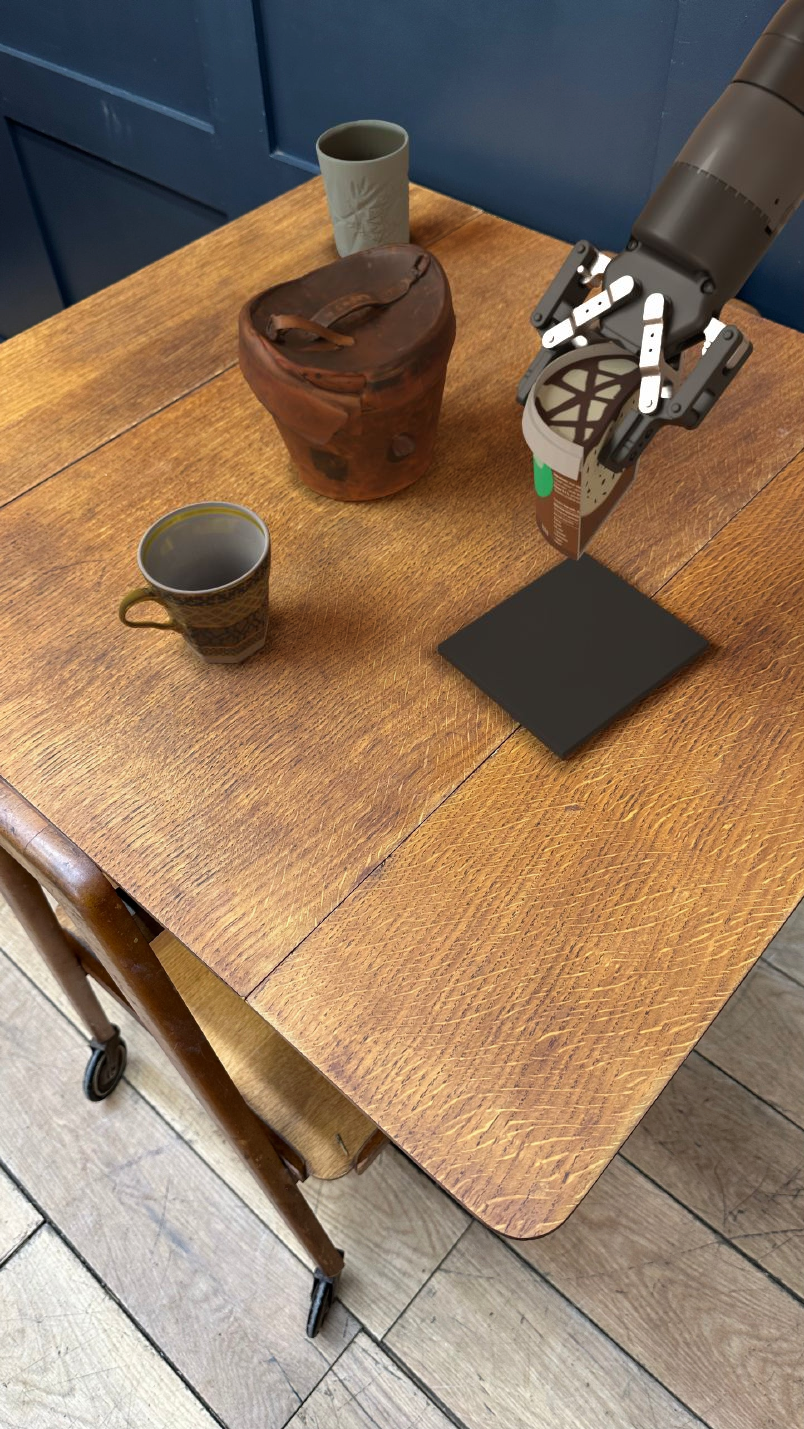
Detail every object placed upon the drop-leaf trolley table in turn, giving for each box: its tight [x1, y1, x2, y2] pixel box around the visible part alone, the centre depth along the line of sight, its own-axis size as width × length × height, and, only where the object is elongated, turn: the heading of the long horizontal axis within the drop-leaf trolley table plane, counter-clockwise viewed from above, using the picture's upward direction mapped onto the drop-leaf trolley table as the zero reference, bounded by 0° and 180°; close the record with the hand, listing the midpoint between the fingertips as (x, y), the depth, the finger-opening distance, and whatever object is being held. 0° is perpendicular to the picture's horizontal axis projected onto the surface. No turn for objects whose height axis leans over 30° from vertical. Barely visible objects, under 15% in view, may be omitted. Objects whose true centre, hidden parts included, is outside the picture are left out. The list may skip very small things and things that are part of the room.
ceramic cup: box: [118, 500, 272, 664], centre depth 80 cm, size 13×10×10 cm
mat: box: [437, 551, 711, 761], centre depth 81 cm, size 16×14×1 cm
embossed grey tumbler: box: [315, 119, 410, 258], centre depth 116 cm, size 10×10×12 cm
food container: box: [521, 341, 642, 561], centre depth 68 cm, size 12×6×10 cm, turn 148°
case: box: [237, 242, 457, 502], centre depth 90 cm, size 18×20×18 cm
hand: (565, 436), depth 66 cm, fingers closed on food container, 7 cm apart
